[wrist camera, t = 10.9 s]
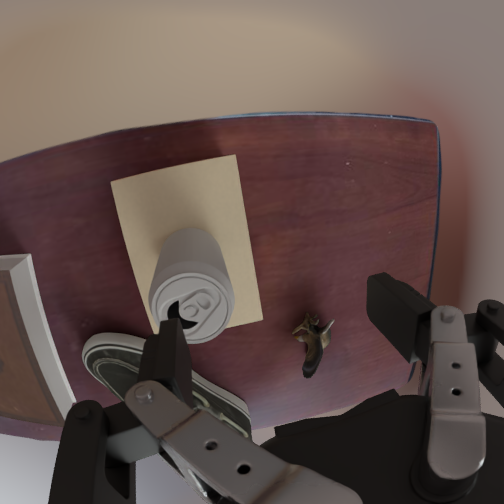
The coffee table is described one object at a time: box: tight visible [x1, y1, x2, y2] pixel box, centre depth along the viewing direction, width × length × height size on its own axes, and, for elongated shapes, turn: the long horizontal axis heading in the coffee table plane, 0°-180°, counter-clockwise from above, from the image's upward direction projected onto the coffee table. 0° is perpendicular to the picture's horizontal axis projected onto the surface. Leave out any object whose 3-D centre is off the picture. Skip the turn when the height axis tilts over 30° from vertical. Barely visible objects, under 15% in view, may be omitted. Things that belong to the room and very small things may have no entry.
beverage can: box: [148, 228, 235, 344], centre depth 27 cm, size 6×6×12 cm
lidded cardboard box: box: [111, 154, 263, 334], centre depth 36 cm, size 19×13×8 cm
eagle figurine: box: [292, 312, 334, 378], centre depth 45 cm, size 8×7×9 cm
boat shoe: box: [82, 333, 253, 442], centre depth 42 cm, size 11×31×10 cm, turn 51°
